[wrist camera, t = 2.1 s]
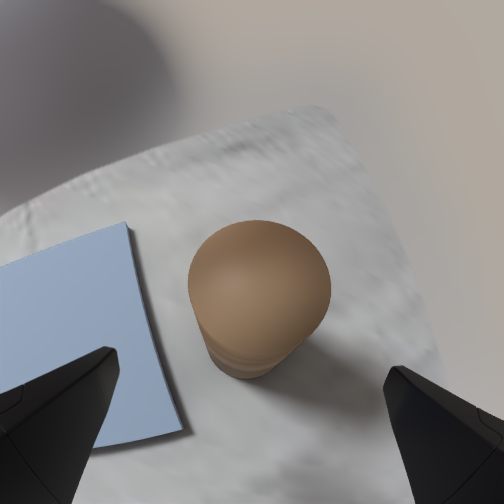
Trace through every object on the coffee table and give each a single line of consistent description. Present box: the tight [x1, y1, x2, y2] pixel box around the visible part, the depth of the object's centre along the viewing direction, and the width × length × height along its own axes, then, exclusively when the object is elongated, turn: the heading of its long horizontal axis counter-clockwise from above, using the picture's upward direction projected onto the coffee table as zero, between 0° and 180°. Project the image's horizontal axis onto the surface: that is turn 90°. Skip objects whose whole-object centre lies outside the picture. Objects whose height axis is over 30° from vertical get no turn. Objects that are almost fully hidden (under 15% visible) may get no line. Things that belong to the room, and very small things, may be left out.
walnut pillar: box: [188, 220, 331, 379], centre depth 15 cm, size 5×5×10 cm
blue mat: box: [0, 222, 184, 448], centre depth 17 cm, size 16×16×1 cm
